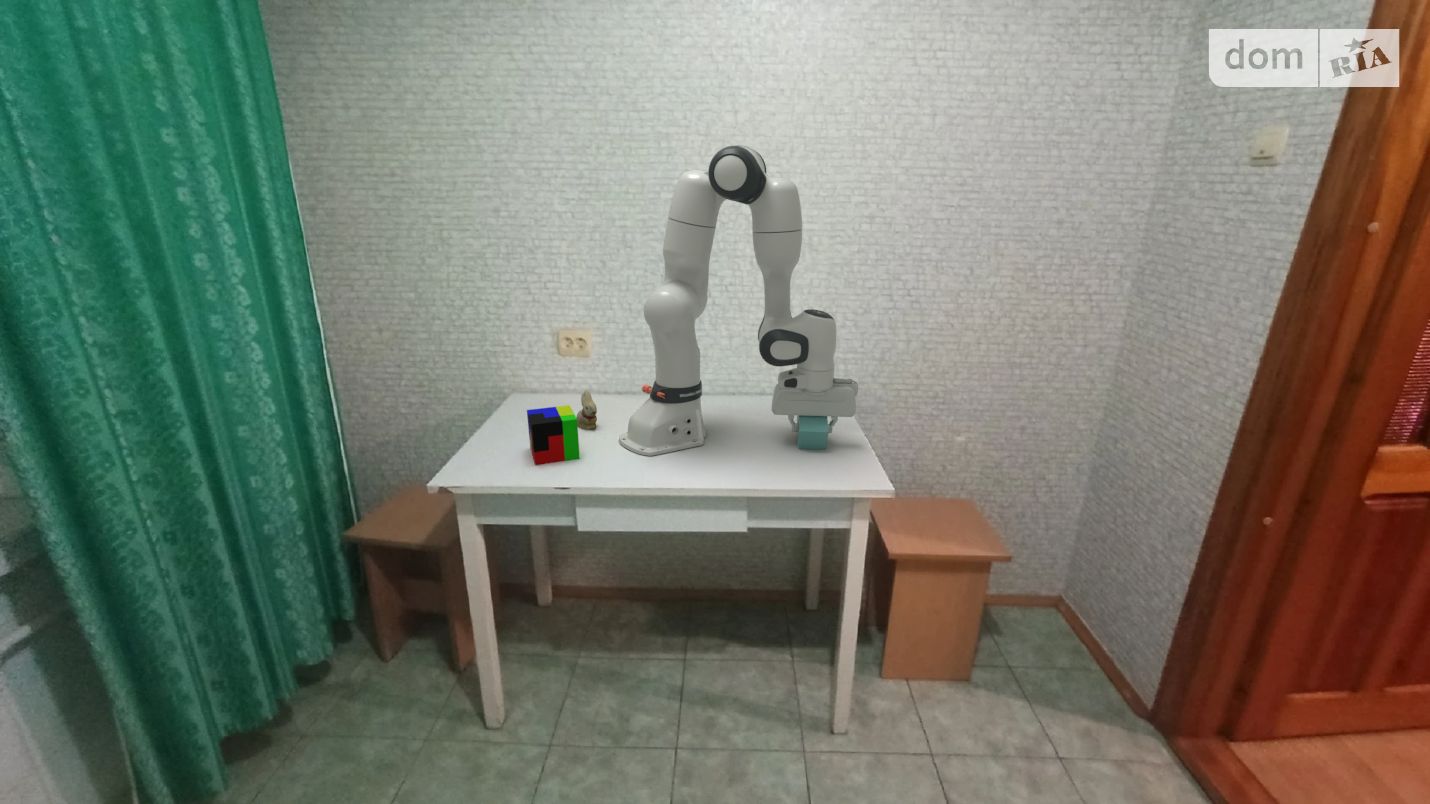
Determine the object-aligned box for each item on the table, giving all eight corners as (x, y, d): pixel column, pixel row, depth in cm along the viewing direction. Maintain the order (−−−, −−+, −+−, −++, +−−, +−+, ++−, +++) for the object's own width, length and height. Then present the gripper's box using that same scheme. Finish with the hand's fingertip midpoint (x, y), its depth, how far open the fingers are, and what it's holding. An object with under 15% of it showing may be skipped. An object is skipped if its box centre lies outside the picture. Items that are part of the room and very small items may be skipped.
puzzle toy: (530, 448, 152) (526, 410, 149) (572, 443, 155) (569, 405, 152) (535, 465, 143) (531, 424, 140) (579, 459, 147) (577, 419, 143)
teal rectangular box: (825, 449, 154) (828, 432, 149) (797, 448, 154) (799, 430, 150) (823, 419, 161) (826, 401, 156) (796, 418, 161) (798, 400, 157)
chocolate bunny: (576, 431, 162) (573, 395, 159) (576, 420, 169) (574, 385, 166) (597, 430, 163) (595, 393, 160) (597, 419, 170) (595, 384, 167)
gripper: (857, 375, 153) (852, 428, 158) (772, 373, 154) (770, 425, 159) (860, 383, 147) (856, 437, 152) (772, 380, 149) (770, 435, 153)
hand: (811, 431), depth 155 cm, fingers closed on teal rectangular box, 7 cm apart
